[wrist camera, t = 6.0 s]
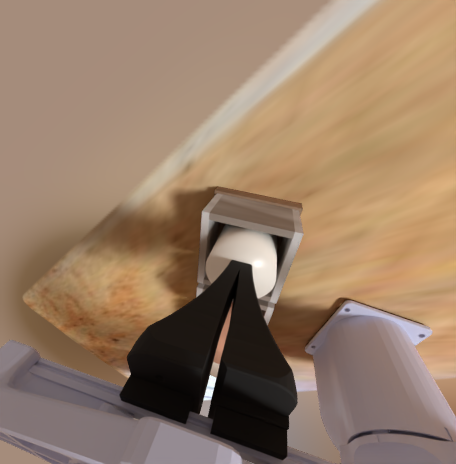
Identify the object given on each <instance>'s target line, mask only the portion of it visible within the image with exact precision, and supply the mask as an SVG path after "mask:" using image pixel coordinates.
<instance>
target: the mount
mask: <svg viewBox="0 0 456 464" xmlns="http://www.w3.org/2000/svg"><path fill="white" fill-rule="evenodd" d="M302 209H303V208H302V204H300V203H296V202H291V201H286V200H281V199H276V198H271V197H267V196H262V195H257V194H252V193H247V192H242V191H237V190H233V189H228V188H223V187H217V188H216V189H215V193H214V197H213V199H212V200H211V201H210V202H209V203H208V205H207V206H206V207H205V208H204V209H203V211H202V219H201V234H200V248H199V263H198V278H197V282H199V284H198V286H197V293H196V297H197V296H199V295H200V294H201V293H202V292H203V291H205V290H206V289H207V288H208V287H209V286H210V285H211V284H212V283H211V282H210V281H209V279H208V277H207V274H206V261H207V259H208V257H209V255H210V253H211V251H212V249H213V247H214V245H215V243H216V241H217V239H218V238H219V236H220V234H221V232H222V230H223V228H224V226H225V225H226V224H230V225H234V226H239V227H243V228H247V229H252V230H256V231H260V232H265V233H269V234H273V235H276V236H277V270H276V282H275V285H274V287H273V289H272V290H271V291H270V292H269V293H268V294H266V295H265V296H263V297H261V298H258V301H259V305H260V308H261V311H262V313H263V316H264V319H265V321H266V323H267V326H268V323H269V321H270V318H271V316H272V313H273V310H274V303H275V304H276V303H277V300H278V298H279V295H280V293H281V290H282V287H283V285H284V282H285V280H286V277H287V275H288V272H289V270H290V267H291V265H292V262H293V259H294V257H295V254H296V252H297V249H298V247H299V244H300V242H301V239H302V236H303V229H302V223H301V218H300V215H301V212H302Z"/></svg>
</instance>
